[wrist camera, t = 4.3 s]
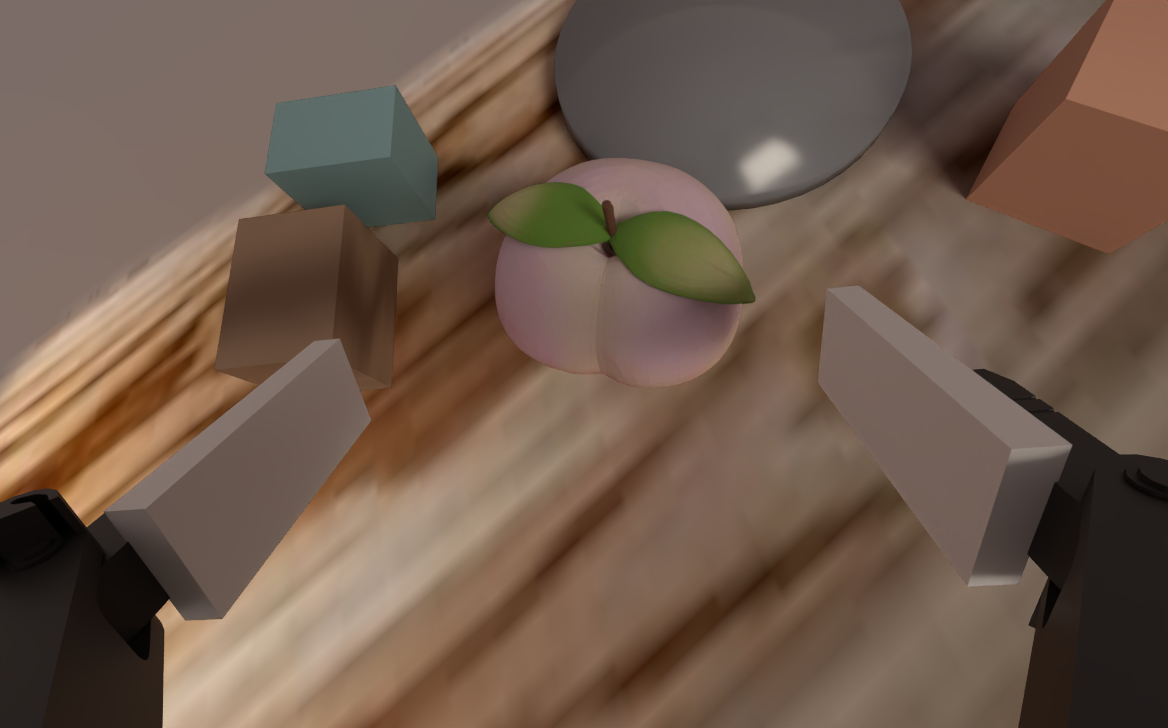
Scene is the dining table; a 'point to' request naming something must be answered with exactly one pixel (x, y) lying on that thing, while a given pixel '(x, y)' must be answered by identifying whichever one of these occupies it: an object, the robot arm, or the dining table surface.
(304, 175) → the teal block
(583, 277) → the decorative fruit
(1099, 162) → the terracotta block
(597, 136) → the slate plate
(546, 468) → the dining table surface
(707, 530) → the dining table surface
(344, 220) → the walnut block
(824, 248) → the dining table surface
